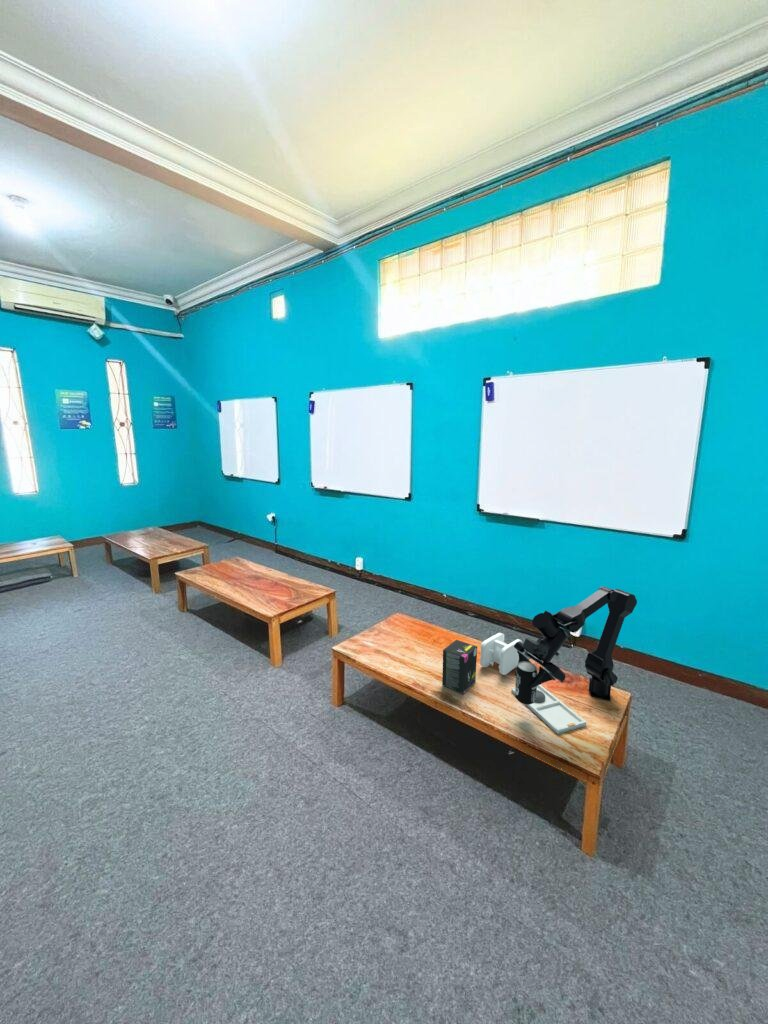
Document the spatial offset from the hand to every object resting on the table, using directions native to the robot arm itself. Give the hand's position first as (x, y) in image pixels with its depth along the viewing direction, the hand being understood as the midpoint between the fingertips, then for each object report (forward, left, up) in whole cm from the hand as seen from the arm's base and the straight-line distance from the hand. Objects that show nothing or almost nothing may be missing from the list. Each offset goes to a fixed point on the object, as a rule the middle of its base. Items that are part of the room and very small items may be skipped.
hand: (523, 681), depth 131 cm
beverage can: (-1, -1, -7) cm, 7 cm away
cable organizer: (+12, -29, -14) cm, 34 cm away
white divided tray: (-7, -9, -13) cm, 18 cm away
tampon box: (+24, -10, -13) cm, 29 cm away
